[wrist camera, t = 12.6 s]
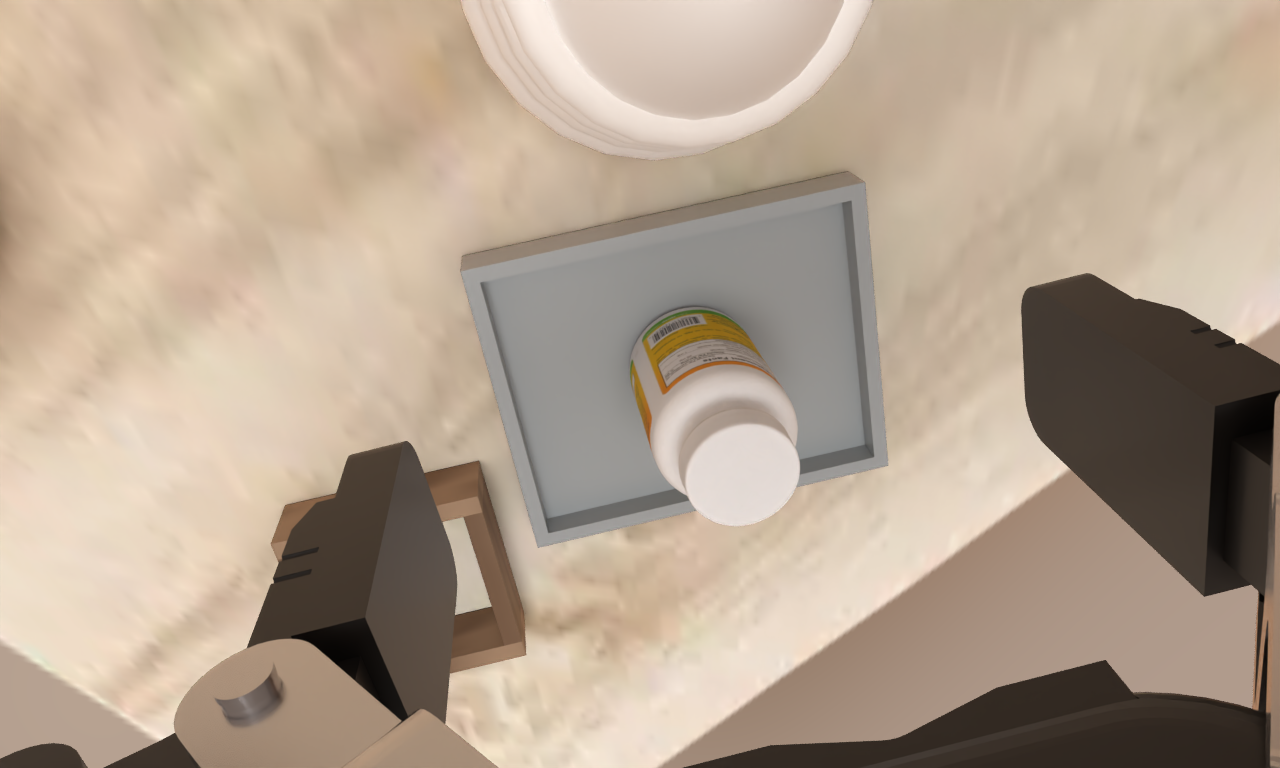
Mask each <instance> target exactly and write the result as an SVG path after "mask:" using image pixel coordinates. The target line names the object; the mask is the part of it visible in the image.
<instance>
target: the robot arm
mask: <svg viewBox="0 0 1280 768" xmlns="http://www.w3.org/2000/svg"><path fill="white" fill-rule="evenodd" d="M1021 314H1022V337H1023V361H1024V384H1025V401H1026V407H1027V411H1028V414H1029V418H1030V421H1031V423H1032V426H1033V428H1034V430H1035V432H1036V433H1037V435H1038V437H1039V438H1040V440H1041V441H1042V442H1043V443H1044V444H1045V445H1046V446H1047V447H1048V448H1049V449H1050V450H1051V451H1052V452H1053V453H1054V454H1055V455H1056V456H1057V457H1058V458H1059V459H1060V460H1061V461H1063V462H1064V463H1065V464H1066V465H1067V466H1068V467H1069V468H1070V469H1071V470H1072V471H1073V472H1074V473H1075V474H1076V475H1077V476H1078V477H1079V478H1080V479H1081V480H1082V481H1084V482H1085V483H1086V484H1087V485H1088V486H1089V487H1090V488H1091V489H1092V490H1093V491H1094V492H1095V493H1096V494H1097V495H1098V496H1099V497H1100V498H1101V499H1102V500H1103V501H1104V502H1106V503H1107V504H1108V505H1109V506H1110V507H1111V508H1112V509H1113V510H1114V511H1115V512H1116V513H1117V514H1118V515H1119V516H1120V517H1121V518H1122V519H1123V520H1124V521H1125V522H1126V523H1127V524H1129V525H1130V526H1131V527H1132V528H1133V529H1134V530H1135V531H1136V532H1137V533H1138V534H1139V535H1140V536H1141V537H1142V538H1143V539H1144V540H1145V541H1146V542H1147V543H1148V544H1149V545H1151V546H1152V547H1153V548H1154V549H1155V550H1156V551H1157V552H1158V553H1159V554H1160V555H1161V556H1162V557H1163V558H1164V559H1165V560H1166V561H1167V562H1168V563H1169V564H1170V565H1172V566H1173V567H1174V568H1175V569H1176V570H1177V571H1178V572H1179V573H1180V574H1181V575H1182V576H1183V577H1184V578H1185V579H1186V580H1187V581H1189V583H1190V584H1191V585H1192V586H1193V587H1195V588H1196V589H1197V590H1198V591H1199V592H1200V593H1201V594H1202V595H1203V596H1204V597H1205V596H1209V595H1213V594H1217V593H1221V592H1225V591H1228V590H1233V589H1237V588H1240V587H1244V586H1248V585H1252V586H1253V587H1254V588H1256V589H1257V590H1258V601H1257V613H1256V631H1255V654H1254V655H1255V656H1254V678H1253V701H1252V702H1253V703H1252V709H1251V708H1248V707H1244V706H1241V705H1238V704H1233V703H1228V702H1224V701H1219V700H1215V699H1210V698H1205V697H1197V696H1189V695H1182V694H1172V693H1152V692H1138V693H1137V692H1136V693H1132V692H1131V691H1130V689H1129V688H1128V687H1127V686H1126V684H1125V683H1124V682H1123V681H1122V680H1121V678H1120V677H1119V676H1118V675H1117V673H1116V672H1115V671H1114V670H1113V669H1112V667H1111V666H1110V665H1109V664H1108V663H1107V661H1106V660H1104V661H1099V662H1096V663H1092V664H1088V665H1084V666H1080V667H1076V668H1072V669H1068V670H1064V671H1060V672H1056V673H1052V674H1049V675H1045V676H1041V677H1037V678H1033V679H1029V680H1025V681H1021V682H1017V683H1013V684H1009V685H1005V686H1002V687H998V688H995V689H993V690H991V691H990V692H987V693H986V694H984V695H982V696H980V697H978V698H976V699H974V700H972V701H970V702H968V703H966V704H964V705H962V706H960V707H958V708H956V709H954V710H953V711H951V712H949V713H947V714H945V715H943V716H941V717H939V718H937V719H935V720H933V721H931V722H929V723H927V724H925V725H923V726H922V727H920V728H918V729H916V730H914V731H912V732H910V733H908V734H906V735H904V736H901V737H899V738H896V739H891V740H883V741H863V742H839V743H815V744H792V745H770V746H767V747H762V748H758V749H755V750H751V751H747V752H743V753H739V754H735V755H731V756H727V757H723V758H719V759H715V760H712V761H708V762H704V763H700V764H696V765H692V766H688V767H684V768H1280V365H1279V364H1278V363H1276V362H1274V361H1273V360H1271V359H1269V358H1267V357H1266V356H1264V355H1262V354H1260V353H1258V352H1256V351H1255V350H1253V349H1251V348H1249V347H1248V346H1246V345H1244V344H1242V343H1239V344H1236V343H1235V339H1233V338H1231V337H1230V336H1228V335H1226V334H1224V333H1222V332H1221V331H1219V330H1217V329H1214V330H1211V328H1210V325H1208V324H1206V323H1204V322H1203V321H1201V320H1199V319H1197V318H1196V317H1194V316H1192V315H1190V314H1188V313H1187V312H1185V311H1183V310H1181V309H1178V308H1174V307H1170V306H1166V305H1162V304H1158V303H1154V302H1150V301H1146V300H1142V299H1134V298H1132V297H1130V296H1129V295H1127V294H1125V293H1124V292H1122V291H1120V290H1118V289H1117V288H1115V287H1113V286H1112V285H1110V284H1108V283H1106V282H1105V281H1103V280H1101V279H1100V278H1098V277H1096V276H1094V275H1092V274H1089V273H1085V274H1081V275H1077V276H1073V277H1069V278H1065V279H1061V280H1057V281H1053V282H1049V283H1045V284H1041V285H1037V286H1033V287H1029V288H1028V289H1027V290H1026V291H1025V293H1024V295H1023V299H1022V306H1021ZM281 557H282V561H280V562H279V564H278V567H277V569H276V572H275V575H274V577H273V580H274V584H271V585H270V588H269V590H268V593H267V596H266V598H265V601H264V604H263V606H262V609H261V612H260V614H259V617H258V620H257V622H256V625H255V628H254V630H253V633H252V636H251V638H250V641H249V644H248V646H247V649H244V650H242V651H240V652H238V653H236V654H234V655H232V656H231V657H229V658H227V659H225V660H224V661H222V662H221V663H219V664H218V665H216V666H215V667H213V668H212V669H211V670H209V671H208V672H207V673H206V674H205V675H204V676H202V677H201V678H200V679H199V680H198V681H197V682H196V683H195V684H194V685H193V686H192V687H191V689H190V690H189V691H188V692H187V694H186V695H185V696H184V698H183V700H182V701H181V703H180V705H179V707H178V709H177V712H176V714H175V719H174V729H175V733H174V734H172V735H170V736H168V737H166V738H164V739H163V740H161V741H159V742H157V743H155V744H152V745H150V746H148V747H147V748H144V749H142V750H140V751H138V752H136V753H134V754H131V755H129V756H127V757H125V758H123V759H121V760H119V761H117V762H115V763H113V764H110V765H108V766H106V767H104V768H498V767H497V766H496V765H494V764H493V763H492V762H491V761H490V760H488V759H487V758H486V757H485V756H483V755H482V754H481V753H480V752H478V751H477V750H476V749H475V748H474V747H472V746H471V745H470V744H469V743H467V742H466V741H465V740H464V739H463V738H461V737H460V736H459V735H458V734H456V733H455V732H454V731H453V730H451V729H450V728H449V727H448V726H447V725H445V721H446V710H447V698H448V687H449V676H450V664H451V653H452V642H453V630H454V619H455V607H456V596H457V575H456V568H455V562H454V557H453V553H452V549H451V546H450V543H449V540H448V537H447V534H446V531H445V529H444V526H443V523H442V521H441V518H440V515H439V512H438V510H437V507H436V504H435V502H434V499H433V496H432V493H431V491H430V488H429V485H428V483H427V480H426V477H425V475H424V472H423V469H422V466H421V464H420V461H419V459H418V456H417V454H416V452H415V450H414V448H413V446H412V445H411V444H410V443H409V442H408V441H405V442H401V443H397V444H393V445H389V446H385V447H381V448H377V449H373V450H369V451H364V452H360V453H356V454H352V455H350V456H349V457H348V459H347V462H346V465H345V468H344V471H343V474H342V477H341V480H340V483H339V486H338V490H337V493H336V496H335V498H332V499H328V500H324V501H320V502H316V503H315V504H314V506H313V507H312V508H311V509H310V510H309V511H308V512H307V513H306V514H305V515H304V516H303V518H302V519H301V520H300V521H299V522H298V523H297V524H296V525H295V526H294V527H293V528H292V529H291V532H290V535H289V537H288V540H287V543H286V545H285V548H284V551H283V553H282V556H281ZM0 768H87V766H86V765H85V763H84V761H83V760H82V759H81V757H80V755H79V754H78V752H77V751H76V750H75V749H73V748H72V747H70V746H68V745H64V744H55V743H51V744H41V745H37V746H33V747H29V748H26V749H23V750H20V751H17V752H14V753H12V754H10V755H8V756H5V757H3V758H1V759H0Z"/></svg>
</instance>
